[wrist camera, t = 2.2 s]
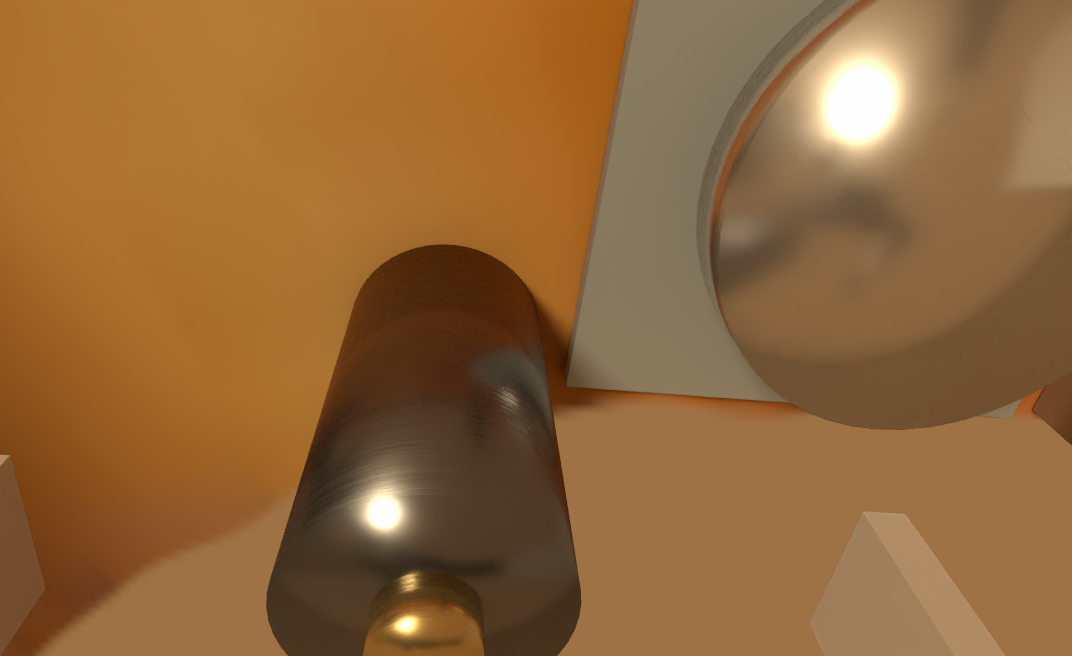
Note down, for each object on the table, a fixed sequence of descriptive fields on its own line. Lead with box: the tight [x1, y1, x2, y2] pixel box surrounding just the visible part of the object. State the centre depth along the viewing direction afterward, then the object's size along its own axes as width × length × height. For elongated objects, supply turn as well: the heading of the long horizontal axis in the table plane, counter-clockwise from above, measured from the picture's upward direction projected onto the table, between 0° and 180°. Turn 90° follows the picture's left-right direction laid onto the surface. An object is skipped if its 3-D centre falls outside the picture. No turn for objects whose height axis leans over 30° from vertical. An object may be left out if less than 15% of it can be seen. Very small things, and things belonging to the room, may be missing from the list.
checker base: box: [564, 0, 1022, 418], centre depth 16 cm, size 12×12×1 cm
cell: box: [266, 245, 581, 656], centre depth 13 cm, size 4×4×9 cm
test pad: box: [696, 0, 1072, 430], centre depth 14 cm, size 9×9×2 cm
